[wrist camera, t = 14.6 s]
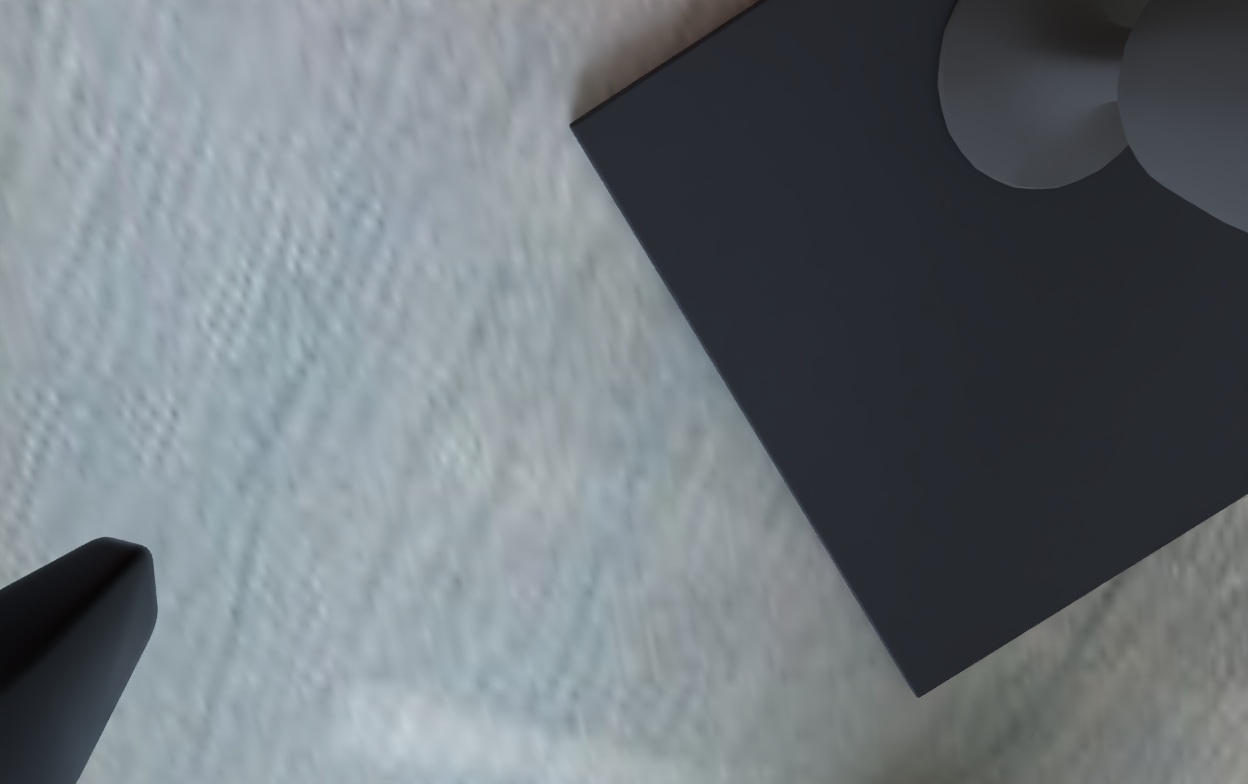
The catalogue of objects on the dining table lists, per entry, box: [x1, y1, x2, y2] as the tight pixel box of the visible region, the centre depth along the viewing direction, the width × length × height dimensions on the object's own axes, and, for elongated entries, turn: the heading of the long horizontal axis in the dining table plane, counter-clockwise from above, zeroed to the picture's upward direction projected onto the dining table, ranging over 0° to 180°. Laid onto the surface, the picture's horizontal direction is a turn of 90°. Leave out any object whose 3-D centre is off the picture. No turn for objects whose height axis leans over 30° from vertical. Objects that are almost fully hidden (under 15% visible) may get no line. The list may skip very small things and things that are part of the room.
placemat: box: [570, 0, 1248, 698], centre depth 21 cm, size 20×16×1 cm
